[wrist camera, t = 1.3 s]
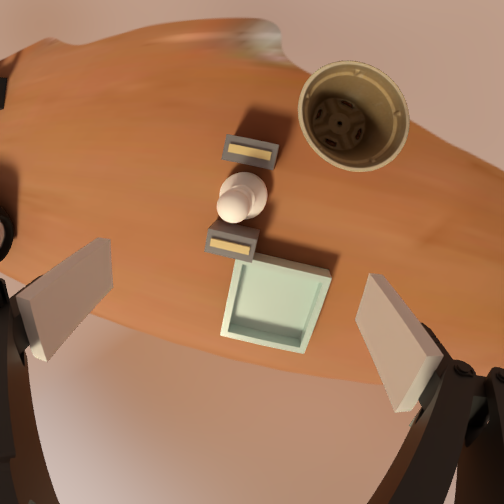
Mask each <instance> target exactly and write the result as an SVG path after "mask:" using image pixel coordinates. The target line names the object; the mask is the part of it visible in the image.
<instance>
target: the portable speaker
mask: <svg viewBox="0 0 504 504" xmlns="http://www.w3.org/2000/svg"><path fill="white" fill-rule="evenodd" d="M13 236H14V229H13V224H12V221H11V219H10V218H9V216H8V215H7V213H6V211H5V210H4V209H3V208H2V207H1V206H0V261H2V260H3V259H4V258H5V257H6V255H7V254H8V252H9V250H10V248H11V245H12V242H13Z"/></svg>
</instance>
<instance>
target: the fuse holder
mask: <svg viewBox="0 0 504 504" xmlns="http://www.w3.org/2000/svg"><path fill="white" fill-rule="evenodd" d="M278 150H279V145H278V144H273V143H269V142H264V141H259V140H254V139H250V138H245V137H239V136H234V135H229V134H227V135H226V140H225V145H224V149H223V154H222V160H227V161H232V162H237V163H242V164H247V165H251V166H256V167H260V168H265V169H269V170H274V168H275V163H276V159H277V154H278ZM259 233H260V230H259V229H255V228H250V227H246V226H242V225H238V224H233V223H229V222H225V221H220V220H216V221H215V222H214V223H213V224H212V225H211V226H210V227H209V228H208V233H207V239H206V245H205V251H204V252H208V253H212V254H216V255H221V256H225V257H229V258H233V259H237V260H241V261H246V262H250V263H252V261H253V257H254V254H255V250H256V246H257V241H258V237H259Z"/></svg>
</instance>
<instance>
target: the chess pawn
mask: <svg viewBox="0 0 504 504" xmlns="http://www.w3.org/2000/svg"><path fill="white" fill-rule="evenodd" d="M219 196H220V198H219V199H218V202H217V211H218V214H219V216H220V217H221V218H222V219H223V220H224V221H226V222H229V223H238V222H241V221H242V220H244V219H250V218H253V217H255V216H257V215H258V214H259V213H260V212H261V211H262V210H263V209H264V207H265V205H266V202H267V197H268V195H267V188H266V185H265V183H264V182H263V181H262V179H261V178H259V177H258V176H257V175H255V174H253V173H250V172H239V173H236V174H233V175H231V176H230V177H228V178H227V179H226V180H225V181H224V183H223V184H222V186H221V189H220V194H219Z"/></svg>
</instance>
